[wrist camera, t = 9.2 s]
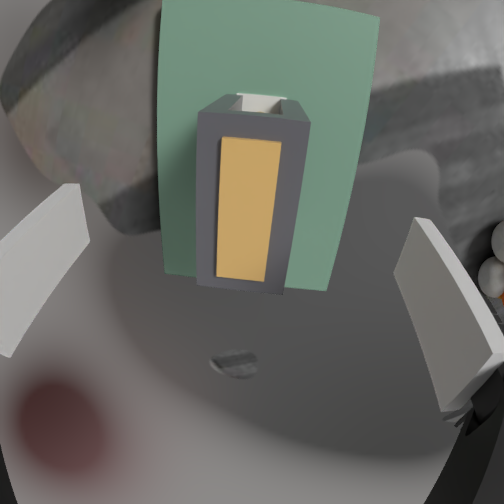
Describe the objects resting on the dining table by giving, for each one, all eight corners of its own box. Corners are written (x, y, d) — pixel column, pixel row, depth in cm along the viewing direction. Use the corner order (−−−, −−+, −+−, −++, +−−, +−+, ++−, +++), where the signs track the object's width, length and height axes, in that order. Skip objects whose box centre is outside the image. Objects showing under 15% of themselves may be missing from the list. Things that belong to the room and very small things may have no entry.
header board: (168, 1, 16) (135, -14, 11) (374, 19, 16) (405, 8, 11) (168, 265, 28) (148, 308, 24) (324, 282, 28) (332, 329, 23)
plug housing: (225, 94, 19) (196, 113, 12) (297, 100, 19) (311, 123, 12) (219, 216, 24) (195, 289, 17) (281, 223, 24) (282, 298, 17)
